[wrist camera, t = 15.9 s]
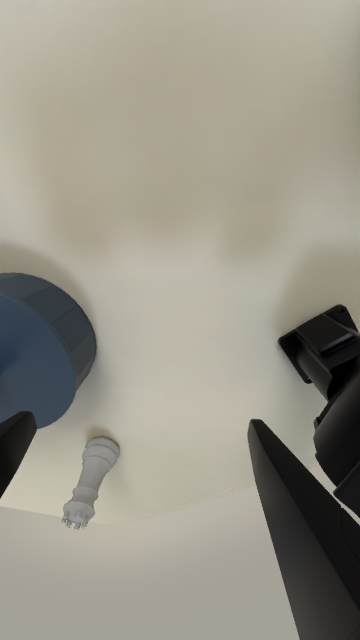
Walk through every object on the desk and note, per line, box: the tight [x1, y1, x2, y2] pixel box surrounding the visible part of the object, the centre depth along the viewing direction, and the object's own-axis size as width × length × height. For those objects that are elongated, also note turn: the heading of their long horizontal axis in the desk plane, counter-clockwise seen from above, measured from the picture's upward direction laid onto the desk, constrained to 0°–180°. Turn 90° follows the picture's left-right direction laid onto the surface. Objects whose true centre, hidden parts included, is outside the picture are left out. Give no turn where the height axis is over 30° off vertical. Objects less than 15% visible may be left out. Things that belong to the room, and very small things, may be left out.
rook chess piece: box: [62, 437, 119, 529], centre depth 25 cm, size 4×4×8 cm
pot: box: [0, 273, 96, 390], centre depth 20 cm, size 13×13×5 cm
